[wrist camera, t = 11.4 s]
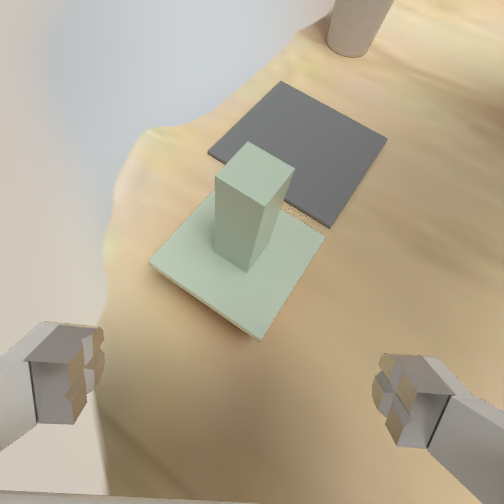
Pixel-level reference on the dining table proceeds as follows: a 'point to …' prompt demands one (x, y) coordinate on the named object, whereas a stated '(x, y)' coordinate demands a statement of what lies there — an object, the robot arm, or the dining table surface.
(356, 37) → the coffee cup
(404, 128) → the dining table surface
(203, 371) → the dining table surface
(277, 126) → the mat
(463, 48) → the dining table surface
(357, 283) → the dining table surface
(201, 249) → the lid
